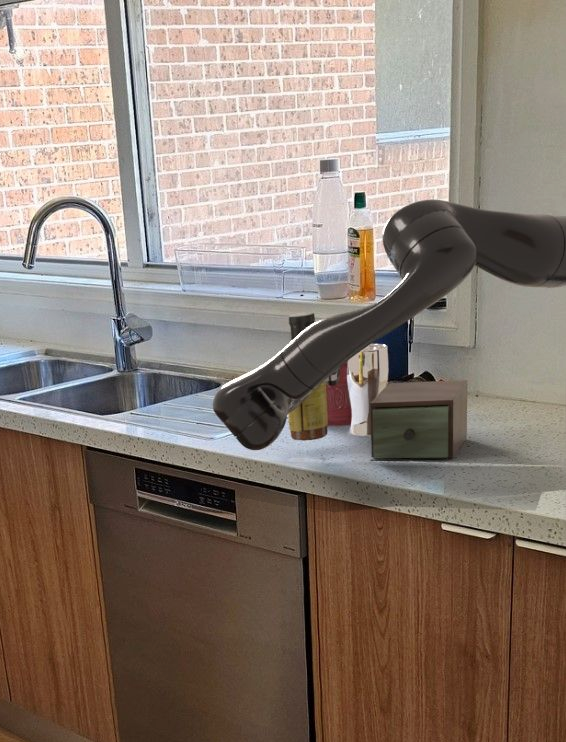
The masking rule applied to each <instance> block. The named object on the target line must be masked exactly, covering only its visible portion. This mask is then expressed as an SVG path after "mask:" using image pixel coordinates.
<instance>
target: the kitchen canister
mask: <svg viewBox="0 0 566 742" xmlns="http://www.w3.org/2000/svg"><path fill="white" fill-rule="evenodd" d="M346 369H347V362H346V363H344V364H343V365H342V366H341V367H340V379H339V381H338V383H337V385H334V386H329V384H326V381H325V384H326V401H327V417H328V425H327V426H331V427H332V426H350V423H351V407H350V401H349V395H348V389H347V378H346Z"/></svg>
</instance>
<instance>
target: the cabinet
mask: <svg viewBox="0 0 566 742" xmlns="http://www.w3.org/2000/svg"><path fill="white" fill-rule="evenodd" d="M438 405H448V406H449V456H448V457H440V458H414V459H416V460H417V459H419V460H420V459H421V460H423V459H424V460H450V461H453V460H454V459H455V458H456V456H457V454H458V453H459V451H460V450H461V448H462V446H463V445H464V444H465V442H466V440H467V439H468V379H457V380H436V381H435V380H433V381H411V382H389V383H387V386H386V387H385V388H384V389H383V390H382V391H381V392H380V393H379V394H378V396H377V397H376V398H375V399H374V400H373V401H372V402H371V403H370V410H371V436H370V444H371V445H370V448H371V449H370V450H371V451H370V452H371V453H370V455H371V461H372V462H408V460H403V459H374V451H373V409H377V408H382V407H410V406H438ZM372 458H373V459H372Z"/></svg>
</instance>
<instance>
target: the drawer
mask: <svg viewBox="0 0 566 742" xmlns="http://www.w3.org/2000/svg"><path fill="white" fill-rule="evenodd" d="M373 451H374V457H373V459H374V460H382V459H415V458H440V457H448V456H449V406H448V405H438V406H410V407H382V408H377V409H373Z"/></svg>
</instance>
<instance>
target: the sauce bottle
mask: <svg viewBox="0 0 566 742" xmlns="http://www.w3.org/2000/svg"><path fill="white" fill-rule="evenodd" d="M315 322H316V317H315V313H314V312H312V311H306V312H305V311H304V312H297V313H292V314H290V315H288V325H289V327H290V328H289V329H290V342H291V341H292V340H294V339H295V338H296V337H297V336H298V335H299V334H300V333H301V332H302V331H304V330H305V329H306V328H307V327H309V326H310V325H312V324H313V323H315ZM287 418H288V429H289V432H290V437H291V439H292V440H295V441H316V440H319V439H322V438H325V437H326V436H327V435H328V426H329V425H328V417H327V401H326V384H325V381H323V382H322V383H321V384H320V385H319V386H318V387H316V388H315V389H314V390H313V391H312V392H311V393H309V395H308V397H307V398H306V399H305V400H304V401H303V402H302V403H301V404H300V405H299V406H298V407H296V408H295V409H294V410H293V411H292V412H290V413H289V414H287Z"/></svg>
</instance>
